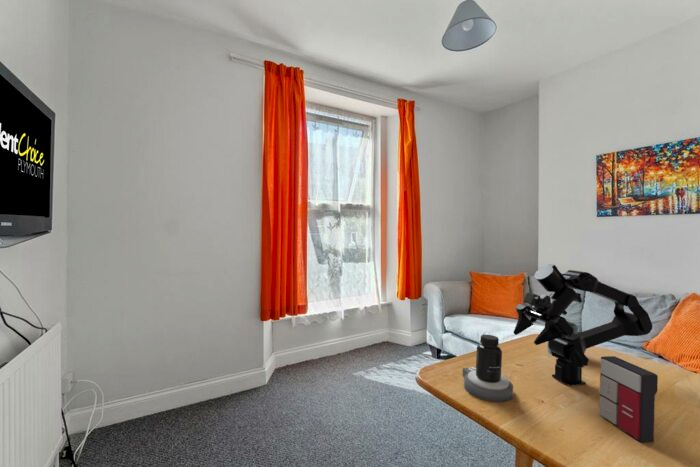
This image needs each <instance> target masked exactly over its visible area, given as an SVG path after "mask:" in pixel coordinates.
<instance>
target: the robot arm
mask: <svg viewBox="0 0 700 467" xmlns="http://www.w3.org/2000/svg"><path fill="white" fill-rule="evenodd" d="M534 278H535V279H536V281H537V283H539V284H540V286H542V287H543V289H544V290H545V291H546V292H548V293H550V294H549V295H547V294H541V295H539V294H535V293H531V292H528V291H527V292H526V293H525V296H524V298H523V299H522V301H523V303H518V304H517V305H516V306H515V310H516V313H517V315H518V318H517V321H516V325H515V327H514V330H513V334H514V335H515V336H517V335H519V334H521V333H522V332H524V331H525V330H527V329H529V328H530V327H532V326H533V325H534V323H535V322H537V321H540V322H542V323H544V327H543V329H542V330H541V332H540V333H539V334H538V335H537V337H536V338H535V339H534V341H533V344H535V346H538V345H542V344H544V343H547V344H548V347H549V349H550V350H551V354H552V355H551V354H550V355H551V356H552V357H554V358H556V359H555V361H556V362H555V364H554V368H555V369H554V374H552V375H551V377H552V378H554V379H556V380H557V381H559V382H561V383H562V384H564V385H566V386H580V385H583V386H584V385H585V386H586V385H587V382H585V381H583V380H582V379H583V378H582V373H583V368H584V367H588V365H589V358H588V356H586V354H585V353H586V350H587V349H589V348H594V347H596V346H599V345H601V344H604V343H607V342H610V341H613V340H615V339H618V338H621V337H625V336H626V337H627V336H629V337H641V336H647V335H648V334H650V333H651V331H652V330H653V323H652V320H651V318H650V316H649V315H650V314H649V313H648V312H647V310H646V309H645V308H644V307H643V306H642V305H641V304H640V302H639V300H638V297H637V296H635V295H633V294H632V293H627V292H624V291H622V290H619V289H618V288H615V287H613V286H610V285H609V284H605V283H604V282H602V281H599V279H598V278H597V277H596V276H594V275H593V274H592V273H590V272H587V271H580V270H573V269H568V270H567V271H566V272H564V273H561V271H560V270H559V269H558V267H557V266H556V264H550V263H549V264H548V265H547V266H545V267H542V268H540V269H538V270H536V271H535V273H534ZM574 289H575V290H574ZM576 290H578V291H583V292H587V293H588V292H589V293H590V294H591V293H592V294H593V295H596V296H599V297H600V298H604V299H607V300H609V301H612V302H613V303H614V309H613V313H614V316H613V319H612V321H611V322H607V323H603V324H602V325H598V326H595V327H592V328H590V329H587V330H584V331H581V332H577V334H575V333H574V328H573V327H572V326H571V325H570V323H569V322H570V321H569V322H568V320H567V319H566V318H565V317H564V316H566V315H567V314H568V312H567V309H568V308H569V307H570V305H571V304H572V303H574V302H576V303H579V304H581V303H582V302H583V301H582V300H583V298H582V296H581V295H582V293H579V292H576ZM524 303H527V304H524ZM528 304H529V305H528ZM625 307H627V308H628V309H629V311H630V312H628V311H625ZM562 315H563V316H562ZM548 341H549V343H548ZM548 347H547V348H548Z"/></svg>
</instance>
